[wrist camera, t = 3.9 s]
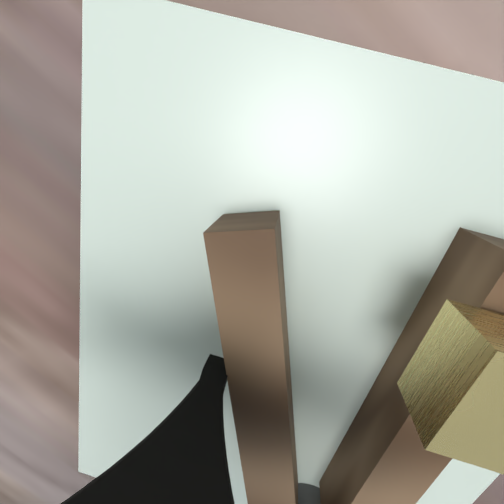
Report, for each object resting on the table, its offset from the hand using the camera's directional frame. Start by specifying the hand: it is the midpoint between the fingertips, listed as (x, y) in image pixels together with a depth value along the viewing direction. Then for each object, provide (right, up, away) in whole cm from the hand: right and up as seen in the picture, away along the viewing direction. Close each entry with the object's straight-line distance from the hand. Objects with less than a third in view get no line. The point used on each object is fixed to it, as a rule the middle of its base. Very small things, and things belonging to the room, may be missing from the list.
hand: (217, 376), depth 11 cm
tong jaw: (+2, 0, +1) cm, 2 cm away
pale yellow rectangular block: (+8, +2, -3) cm, 9 cm away
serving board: (+3, 0, +2) cm, 4 cm away
